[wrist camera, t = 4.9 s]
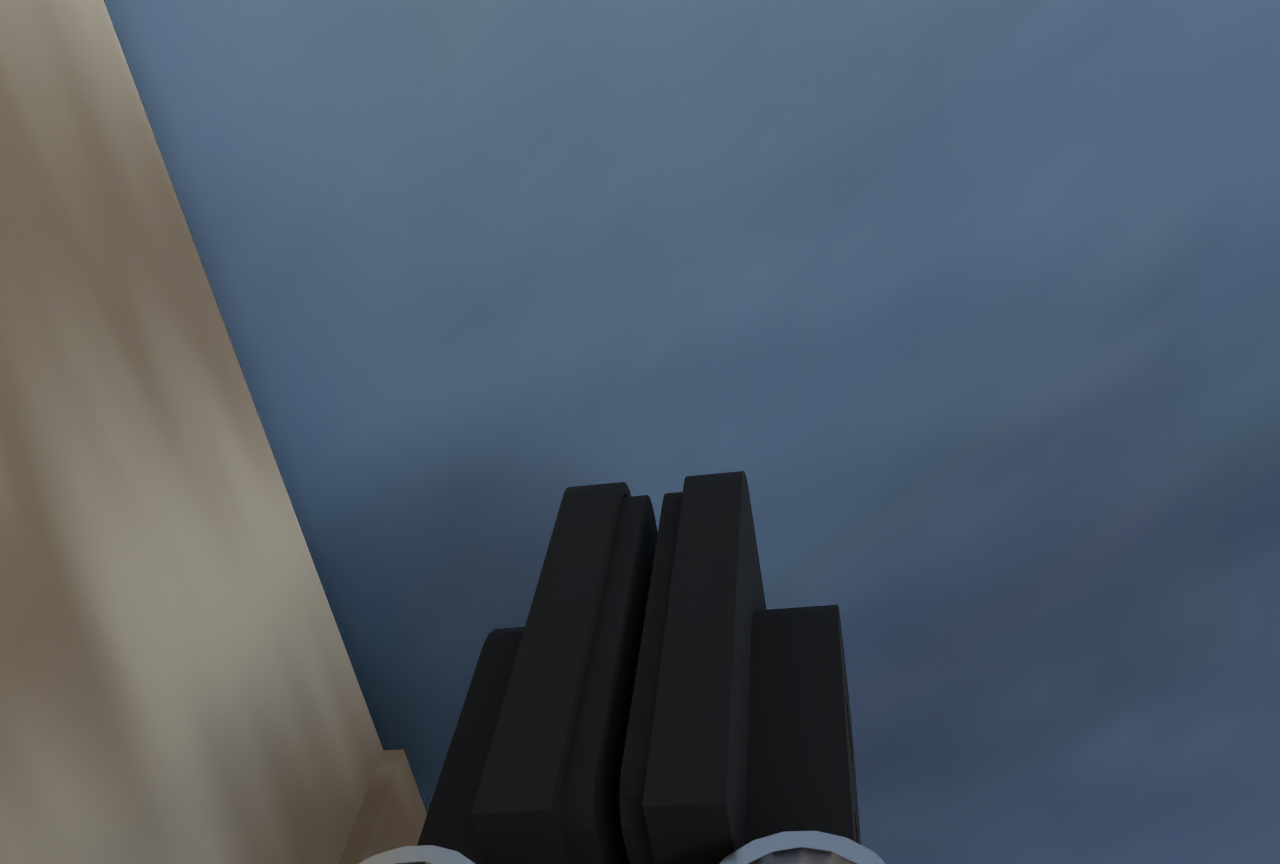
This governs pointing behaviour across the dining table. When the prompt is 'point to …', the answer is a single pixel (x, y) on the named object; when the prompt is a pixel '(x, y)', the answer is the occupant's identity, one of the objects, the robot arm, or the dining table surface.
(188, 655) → the gate
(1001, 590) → the dining table surface
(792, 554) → the dining table surface
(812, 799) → the robot arm
